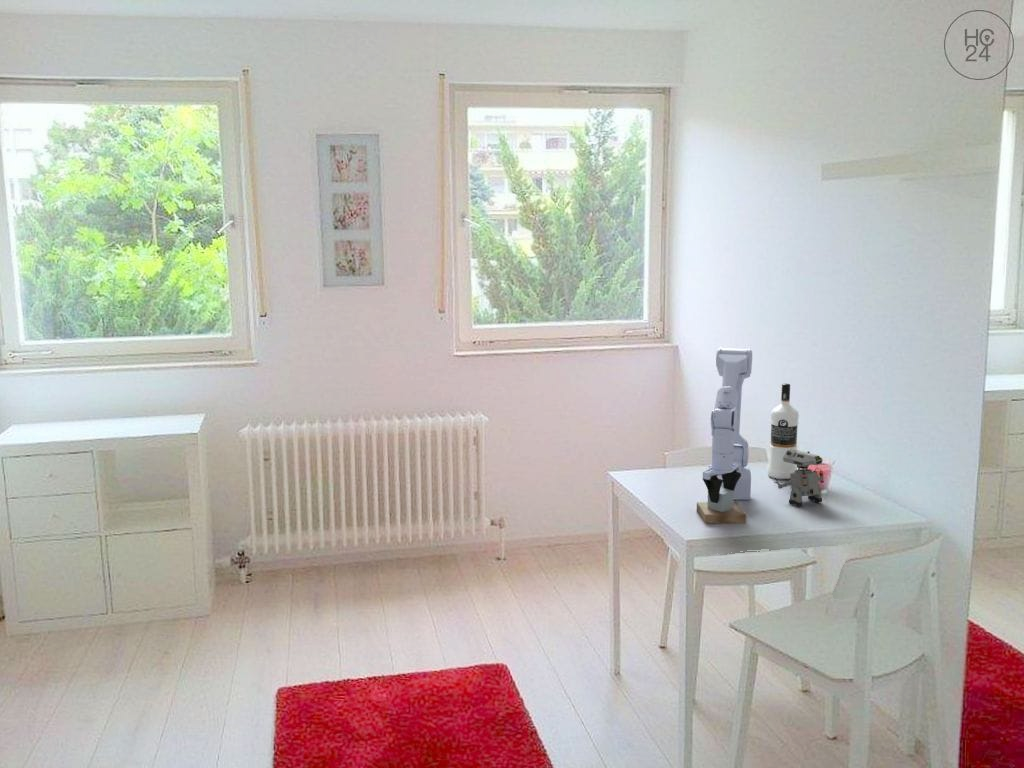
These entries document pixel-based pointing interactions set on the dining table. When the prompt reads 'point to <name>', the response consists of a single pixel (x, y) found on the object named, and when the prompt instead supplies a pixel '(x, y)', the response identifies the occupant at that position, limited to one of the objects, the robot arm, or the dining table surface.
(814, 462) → the figurine
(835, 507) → the dining table surface
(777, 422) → the vodka
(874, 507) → the dining table surface
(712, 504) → the block
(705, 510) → the plinth
